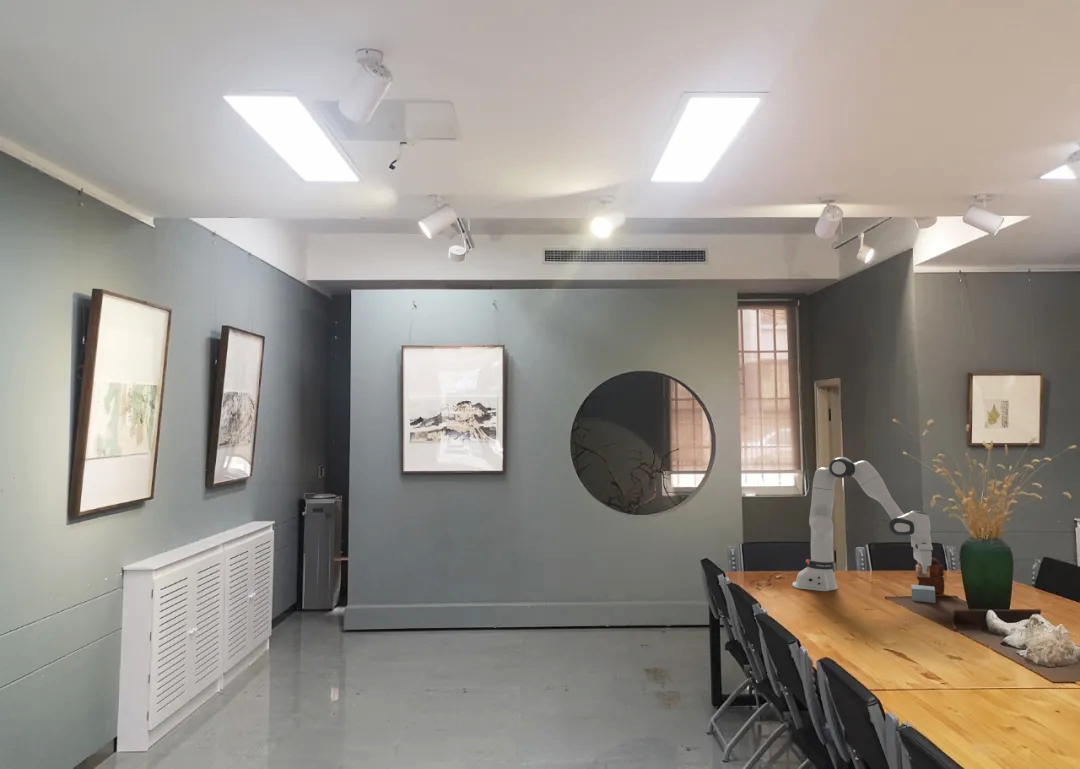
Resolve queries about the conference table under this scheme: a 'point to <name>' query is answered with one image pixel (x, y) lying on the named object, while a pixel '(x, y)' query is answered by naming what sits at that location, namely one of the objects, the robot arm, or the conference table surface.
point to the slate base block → (923, 593)
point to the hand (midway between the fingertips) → (922, 571)
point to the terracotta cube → (919, 571)
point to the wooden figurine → (934, 577)
